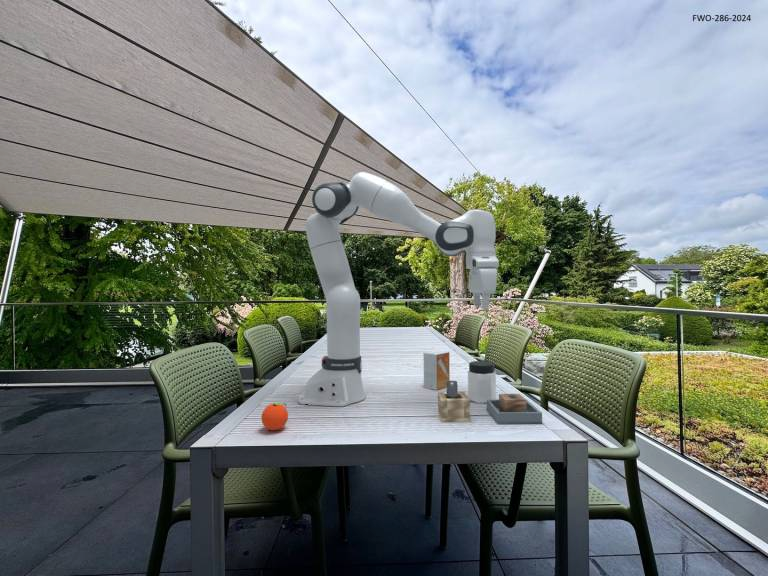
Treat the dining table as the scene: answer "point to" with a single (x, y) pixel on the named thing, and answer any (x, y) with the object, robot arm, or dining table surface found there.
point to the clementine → (274, 416)
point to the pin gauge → (452, 390)
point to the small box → (436, 369)
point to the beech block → (454, 408)
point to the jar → (481, 381)
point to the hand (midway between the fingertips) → (481, 308)
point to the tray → (514, 414)
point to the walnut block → (512, 403)
